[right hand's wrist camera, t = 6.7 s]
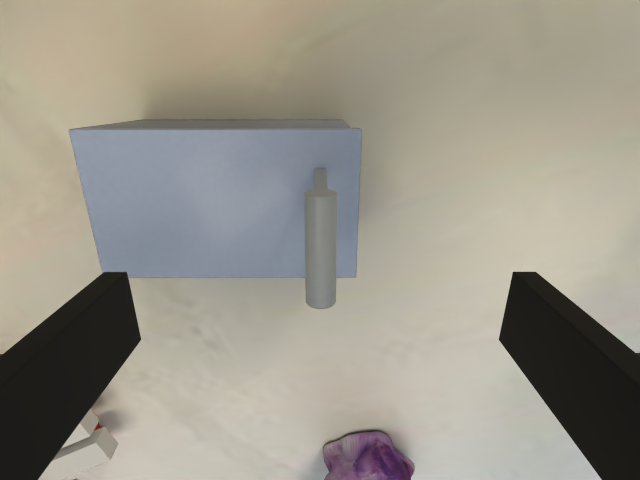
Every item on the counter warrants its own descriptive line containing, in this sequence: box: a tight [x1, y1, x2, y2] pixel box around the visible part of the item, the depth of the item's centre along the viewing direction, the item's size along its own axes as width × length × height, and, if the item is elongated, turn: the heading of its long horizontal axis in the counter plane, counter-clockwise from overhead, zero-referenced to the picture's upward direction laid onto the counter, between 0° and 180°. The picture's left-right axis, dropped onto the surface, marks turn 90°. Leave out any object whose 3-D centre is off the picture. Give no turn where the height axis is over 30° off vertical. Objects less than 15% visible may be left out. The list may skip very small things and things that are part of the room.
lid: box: [69, 128, 362, 309], centre depth 21 cm, size 18×10×9 cm, turn 90°
